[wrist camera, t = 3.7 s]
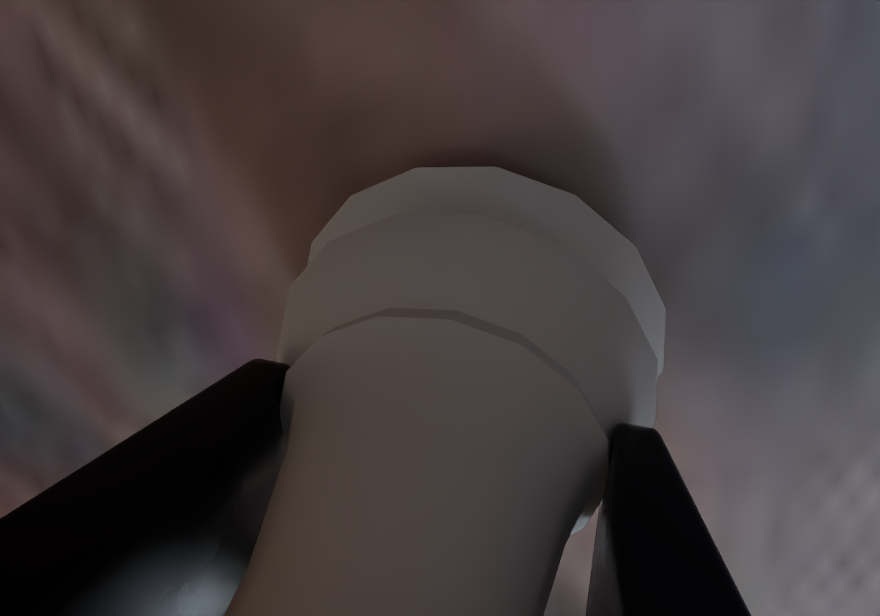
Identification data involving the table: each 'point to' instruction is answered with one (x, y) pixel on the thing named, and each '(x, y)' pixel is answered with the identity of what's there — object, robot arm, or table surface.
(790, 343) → the table surface
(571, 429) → the rook chess piece
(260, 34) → the table surface
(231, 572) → the robot arm
